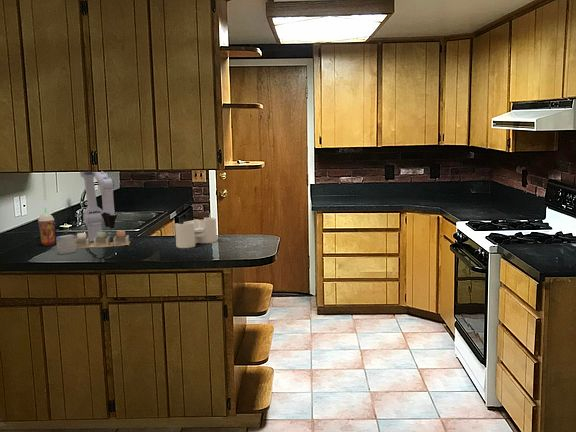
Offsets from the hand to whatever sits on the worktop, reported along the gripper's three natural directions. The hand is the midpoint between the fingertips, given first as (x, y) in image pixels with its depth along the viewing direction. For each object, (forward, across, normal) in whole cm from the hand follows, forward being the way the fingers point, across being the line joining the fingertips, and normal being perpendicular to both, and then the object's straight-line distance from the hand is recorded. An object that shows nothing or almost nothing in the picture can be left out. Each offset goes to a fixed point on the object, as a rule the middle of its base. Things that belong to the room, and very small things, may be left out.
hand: (109, 227), depth 322 cm
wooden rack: (+10, -4, -4) cm, 11 cm away
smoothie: (+10, -28, -26) cm, 40 cm away
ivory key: (+7, -8, -13) cm, 17 cm away
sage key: (+7, -4, -4) cm, 9 cm away
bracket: (+10, +27, +38) cm, 47 cm away
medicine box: (+10, +5, -24) cm, 26 cm away
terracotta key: (+7, -1, +6) cm, 9 cm away
